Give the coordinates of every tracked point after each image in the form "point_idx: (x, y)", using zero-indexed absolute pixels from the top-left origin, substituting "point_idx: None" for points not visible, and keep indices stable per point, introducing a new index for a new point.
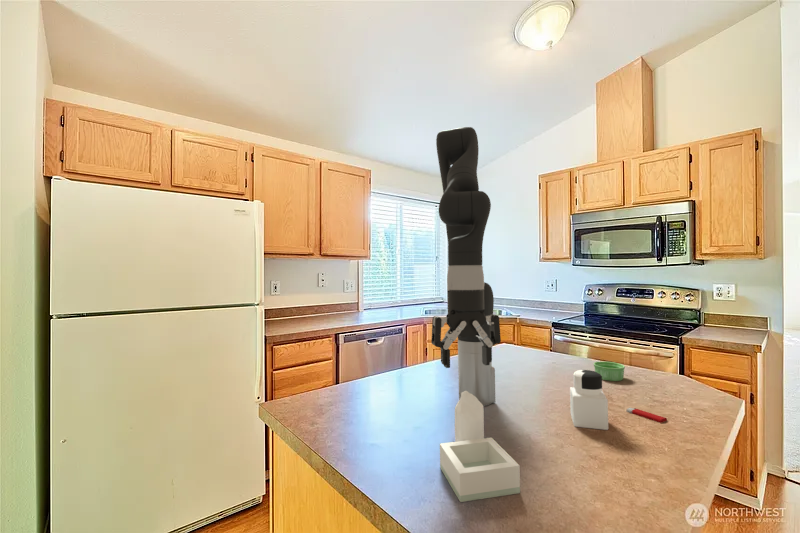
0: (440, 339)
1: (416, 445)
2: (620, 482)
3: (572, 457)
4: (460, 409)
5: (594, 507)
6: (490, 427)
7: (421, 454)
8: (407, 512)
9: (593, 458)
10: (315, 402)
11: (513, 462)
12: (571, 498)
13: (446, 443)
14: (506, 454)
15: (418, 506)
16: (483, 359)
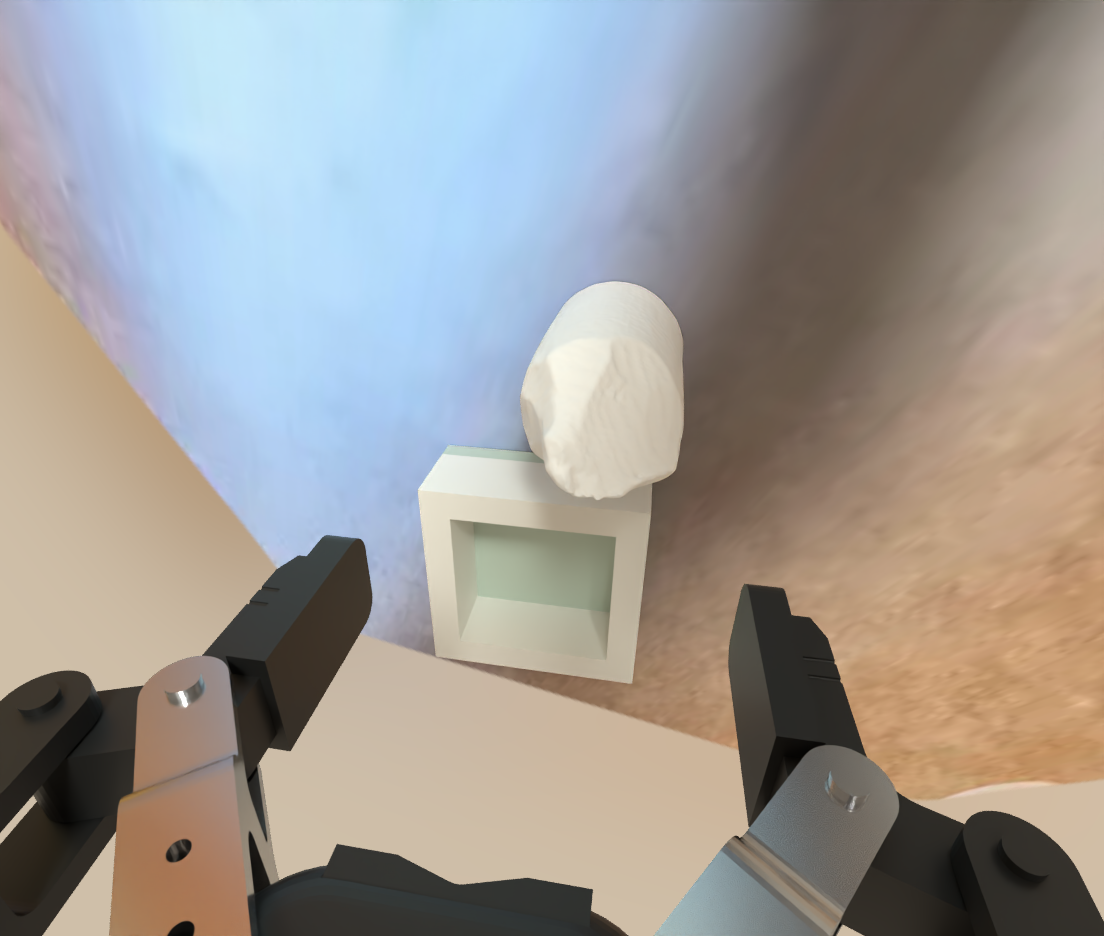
0: (88, 867)
1: (386, 246)
2: (969, 679)
3: (981, 536)
4: (533, 442)
5: None
6: (863, 144)
7: (397, 332)
8: None
9: (1054, 566)
10: None
11: (624, 666)
12: None
13: (444, 497)
14: (630, 628)
15: None
16: (744, 635)
